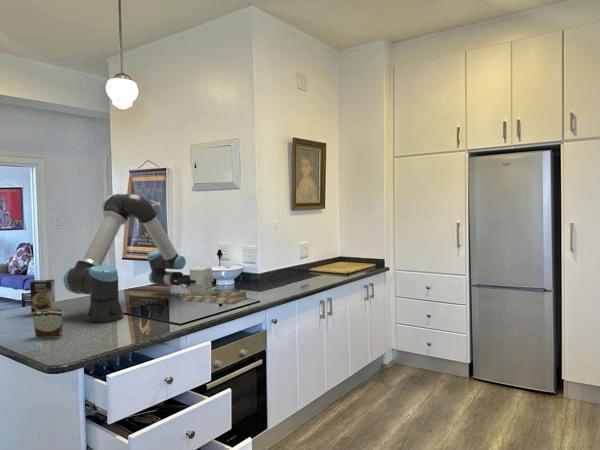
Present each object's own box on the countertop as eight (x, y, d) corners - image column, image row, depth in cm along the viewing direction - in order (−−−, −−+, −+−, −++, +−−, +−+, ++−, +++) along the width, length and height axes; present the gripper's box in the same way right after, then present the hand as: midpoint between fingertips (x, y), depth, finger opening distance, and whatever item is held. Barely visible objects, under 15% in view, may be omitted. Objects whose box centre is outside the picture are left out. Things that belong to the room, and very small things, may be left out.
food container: (71, 332, 178) (70, 307, 178) (64, 336, 172) (63, 311, 172) (40, 333, 178) (39, 308, 177) (31, 337, 172) (30, 312, 171)
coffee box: (30, 316, 206) (29, 282, 205) (35, 313, 212) (33, 280, 212) (52, 314, 209) (51, 280, 208) (56, 311, 215) (54, 278, 214)
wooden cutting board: (179, 300, 236) (179, 292, 236) (201, 293, 254) (201, 286, 254) (230, 304, 223) (230, 296, 223) (250, 296, 241) (249, 289, 241)
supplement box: (189, 296, 237) (188, 269, 236) (197, 293, 245) (196, 266, 245) (205, 297, 234) (204, 269, 234) (212, 294, 243) (211, 267, 242)
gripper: (187, 281, 257) (219, 283, 248) (160, 288, 237) (194, 291, 228) (186, 268, 257) (219, 270, 248) (160, 274, 236) (194, 276, 227)
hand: (207, 280), depth 238 cm, fingers closed on supplement box, 10 cm apart
